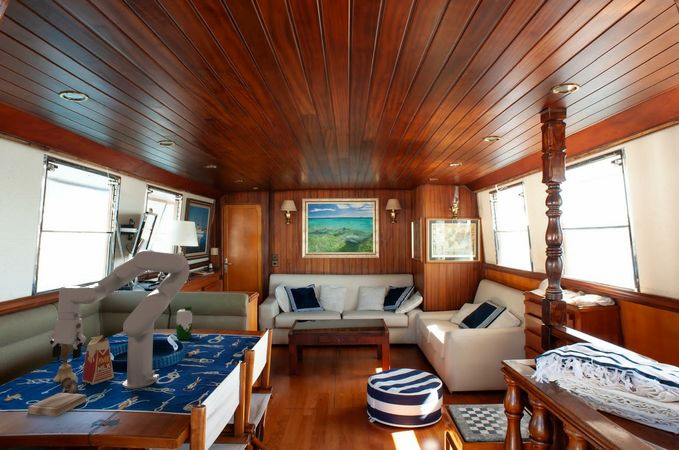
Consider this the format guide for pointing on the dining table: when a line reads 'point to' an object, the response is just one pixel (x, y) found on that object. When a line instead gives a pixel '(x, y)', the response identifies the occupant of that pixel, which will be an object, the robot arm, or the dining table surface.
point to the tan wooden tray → (57, 404)
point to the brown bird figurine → (69, 385)
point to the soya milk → (184, 323)
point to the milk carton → (97, 361)
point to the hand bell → (64, 366)
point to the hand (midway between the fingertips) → (66, 357)
